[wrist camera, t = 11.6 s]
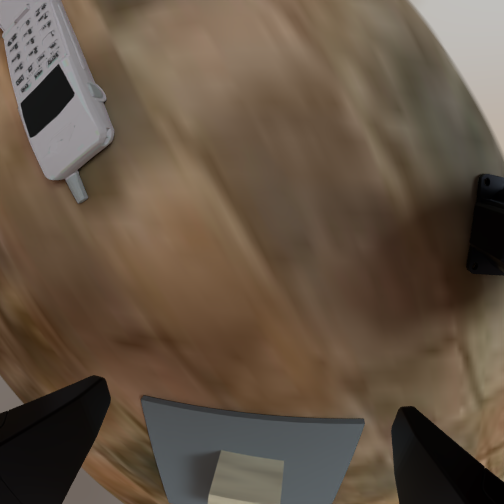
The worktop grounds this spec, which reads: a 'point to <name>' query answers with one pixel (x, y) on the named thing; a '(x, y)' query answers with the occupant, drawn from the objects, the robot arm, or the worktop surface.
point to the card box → (246, 480)
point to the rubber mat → (248, 449)
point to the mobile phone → (54, 89)
